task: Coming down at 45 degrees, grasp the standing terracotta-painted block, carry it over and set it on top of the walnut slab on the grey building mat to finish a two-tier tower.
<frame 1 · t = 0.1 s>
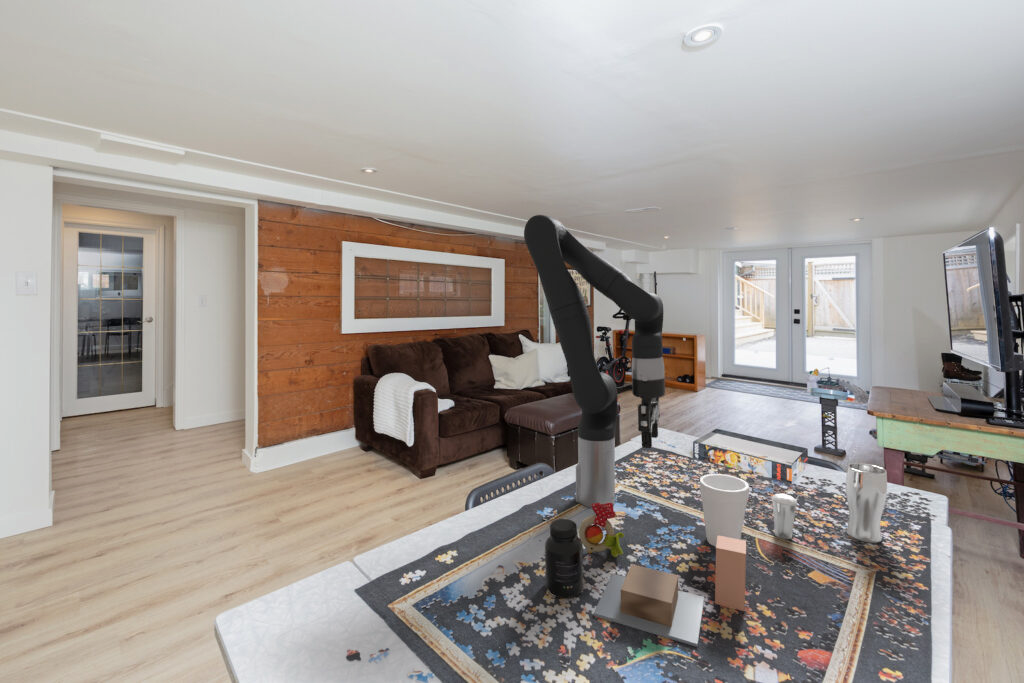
hand: (650, 442, 111), 17 cm above the table, tool pointing down, fingers open, 8 cm apart
tall block: (730, 599, 79), on the table
building mat: (650, 607, 77), on the table
supplement bottle: (564, 588, 83), on the table
bird rattle: (602, 553, 94), on the table
beer glass: (863, 536, 99), on the table
milkshake: (785, 536, 99), on the table
foam cup: (722, 542, 98), on the table
base slab: (650, 593, 77), on the building mat
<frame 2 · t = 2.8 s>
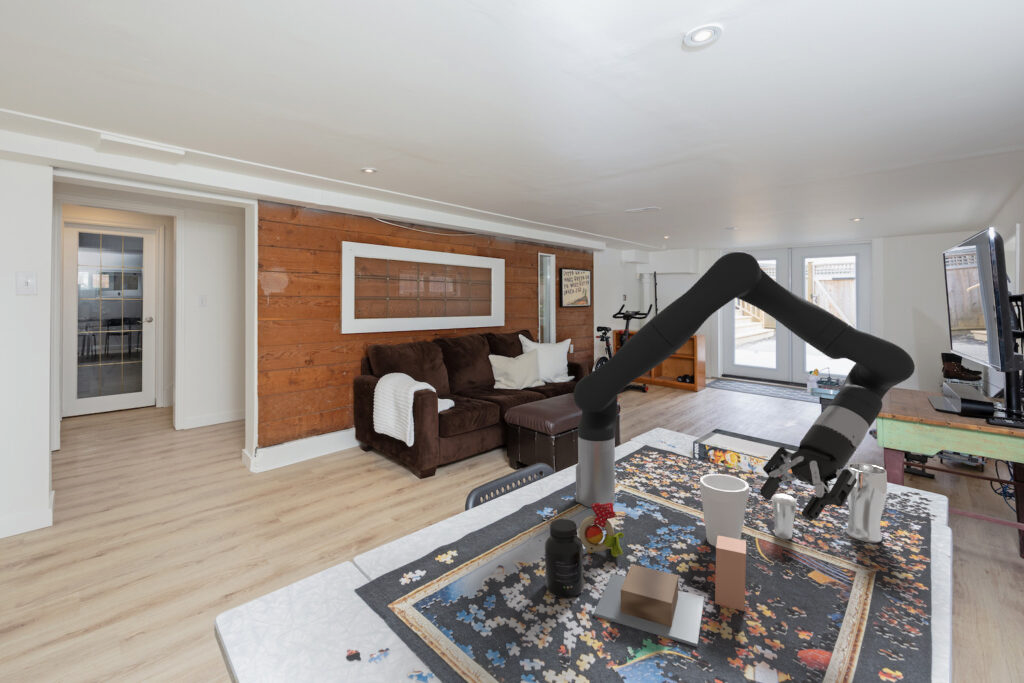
hand: (784, 507, 81), 15 cm above the table, tool tilted 45°, fingers open, 8 cm apart
nothing on the table moved.
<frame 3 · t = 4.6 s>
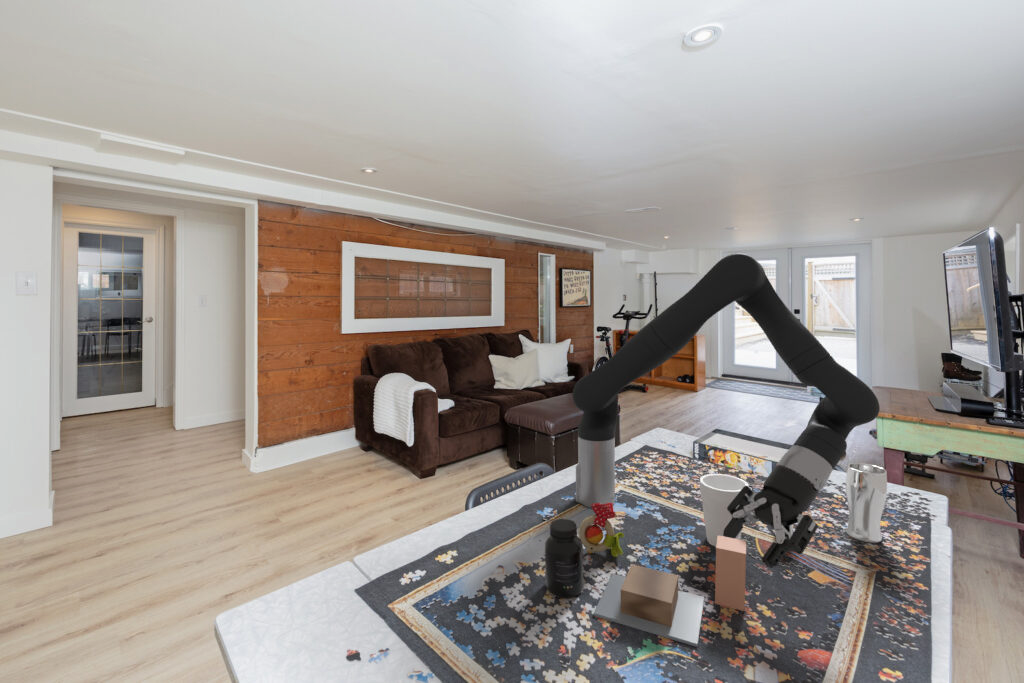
hand: (745, 551, 79), 8 cm above the table, tool tilted 45°, fingers open, 8 cm apart
nothing on the table moved.
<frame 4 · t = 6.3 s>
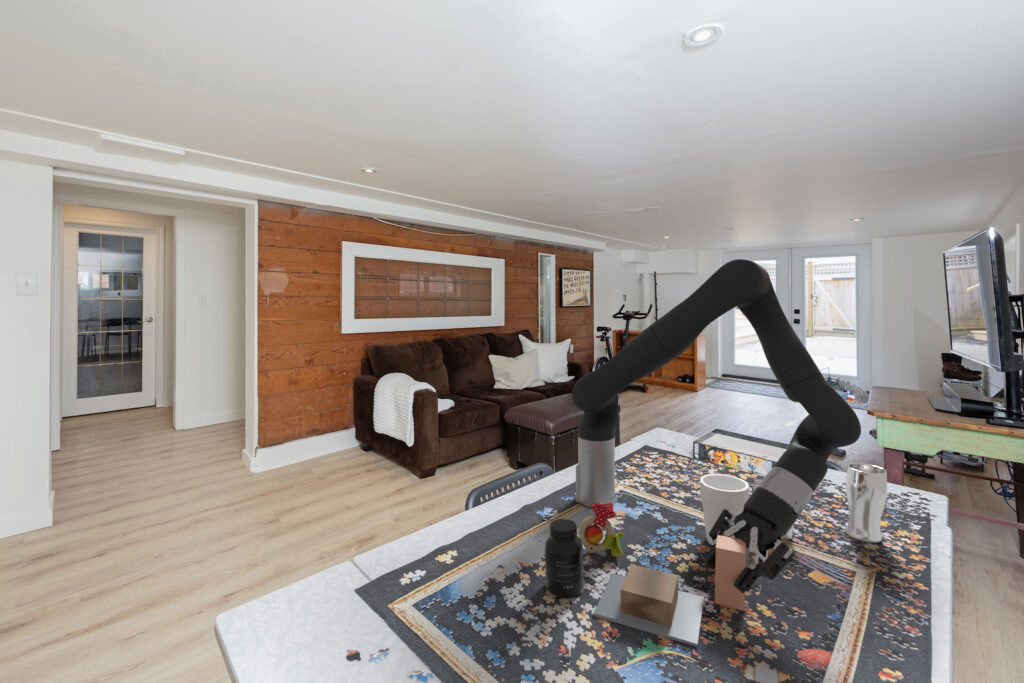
hand: (722, 577, 78), 4 cm above the table, tool tilted 45°, fingers closed on tall block, 6 cm apart
tall block: (729, 599, 79), on the table, touching gripper
everything else where it was.
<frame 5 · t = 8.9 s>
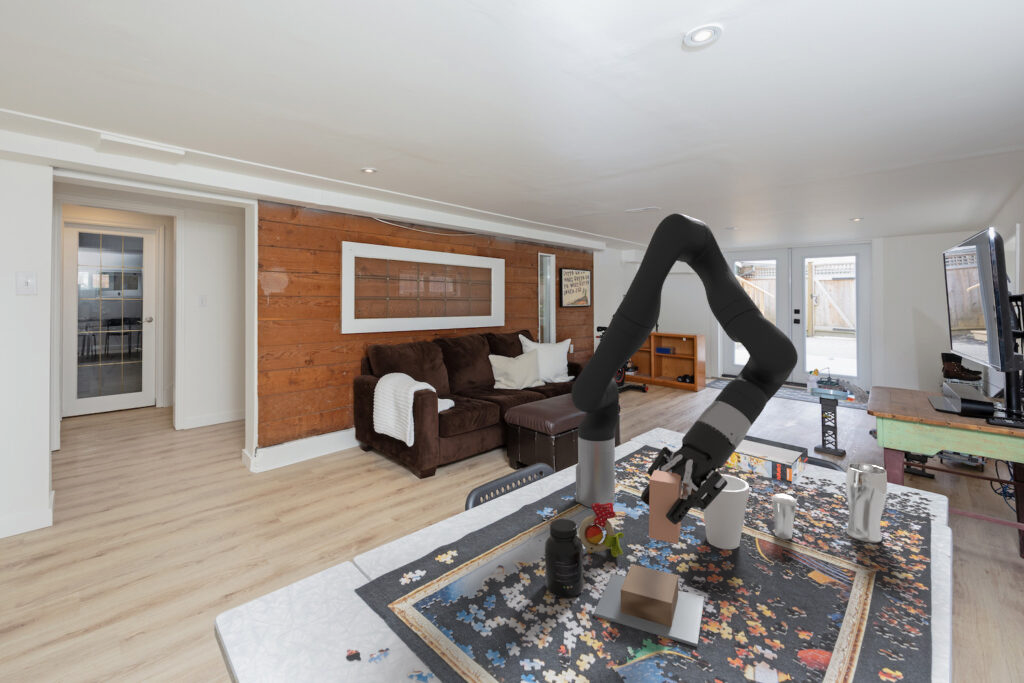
hand: (657, 511, 76), 17 cm above the table, tool tilted 45°, fingers closed on tall block, 6 cm apart
tall block: (664, 534, 77), point 13 cm above the table, touching gripper
everything else where it was.
when the fingers open (10 cm above the table, at t = 11.5 s): tall block stays where it is, resting on base slab.
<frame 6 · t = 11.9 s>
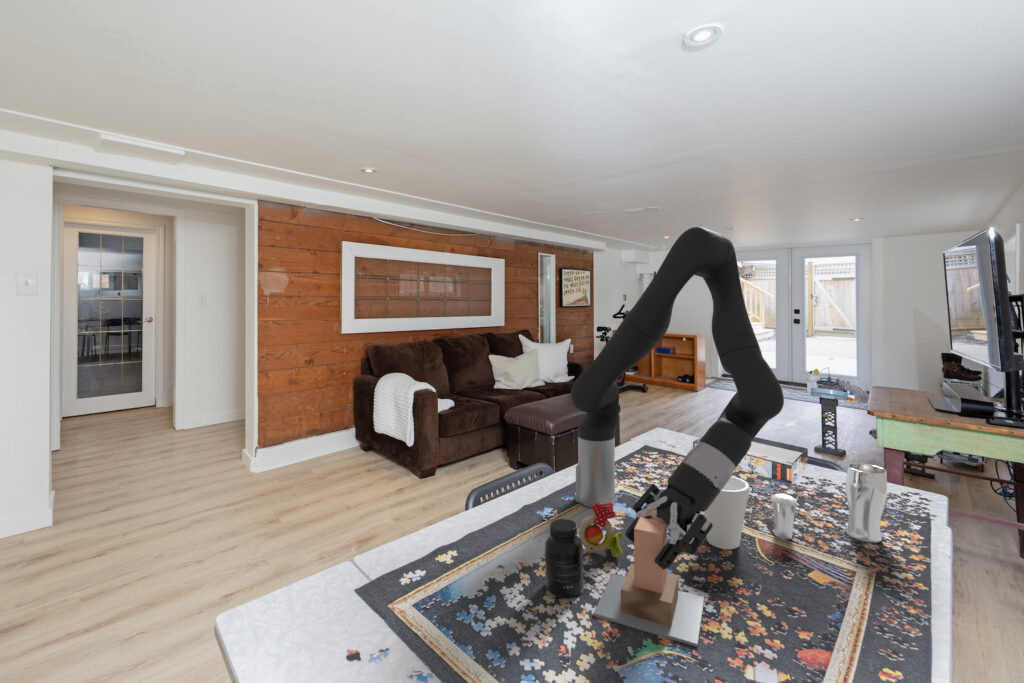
hand: (643, 551, 76), 10 cm above the table, tool tilted 45°, fingers open, 8 cm apart
tall block: (650, 582, 77), point 4 cm above the table, touching base slab
base slab: (650, 593, 77), on the building mat, touching tall block
everything else where it was.
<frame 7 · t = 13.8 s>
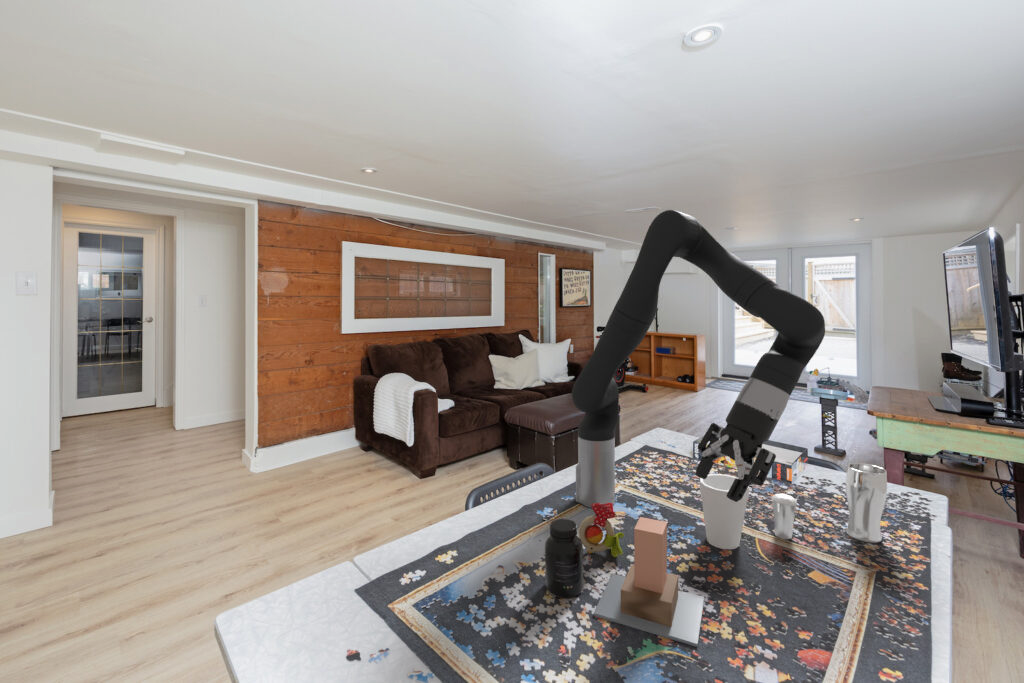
hand: (715, 487, 83), 18 cm above the table, tool tilted 30°, fingers open, 8 cm apart
nothing on the table moved.
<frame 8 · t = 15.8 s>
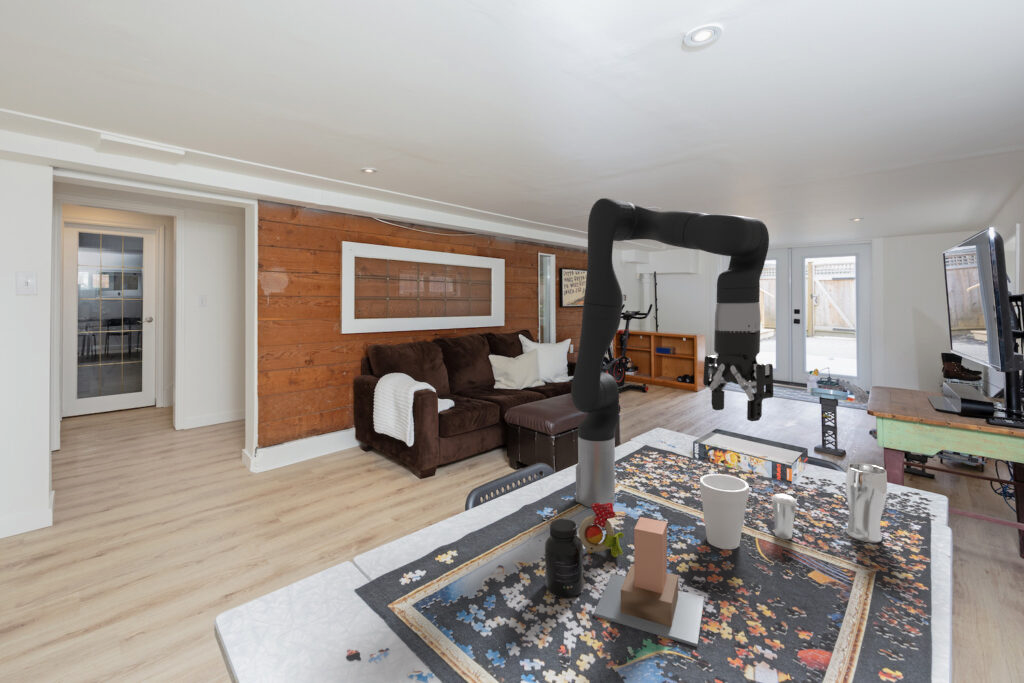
hand: (735, 414, 85), 30 cm above the table, tool pointing down, fingers open, 8 cm apart
nothing on the table moved.
at the end: tall block 0.1 cm off-centre on the base slab, point 4.0 cm above the base slab's base; tall block tilted 0°; the gripper is holding nothing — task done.
